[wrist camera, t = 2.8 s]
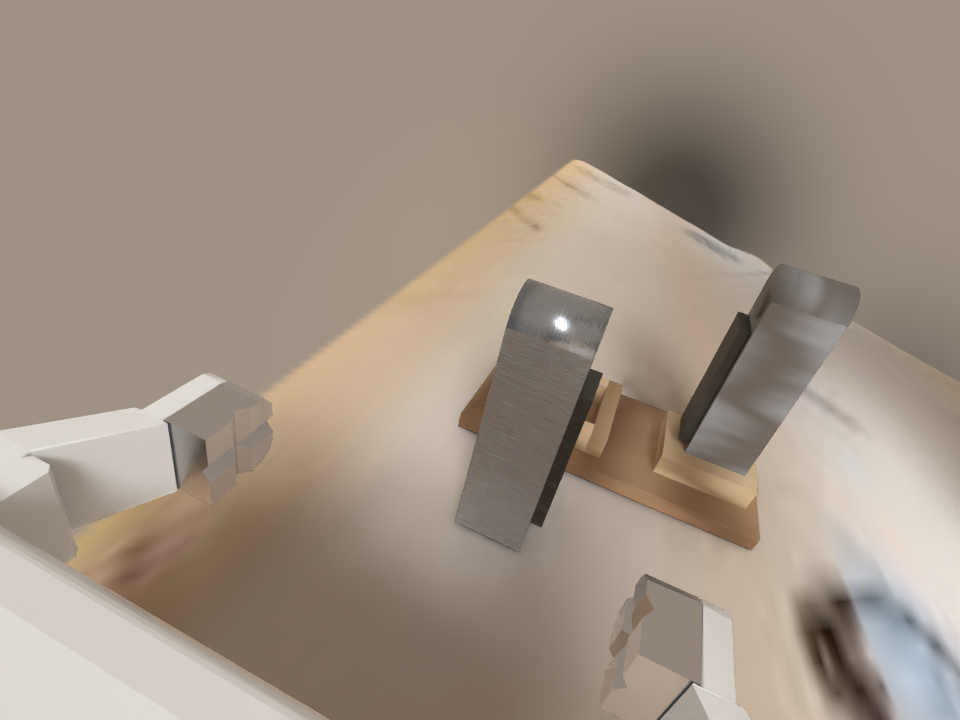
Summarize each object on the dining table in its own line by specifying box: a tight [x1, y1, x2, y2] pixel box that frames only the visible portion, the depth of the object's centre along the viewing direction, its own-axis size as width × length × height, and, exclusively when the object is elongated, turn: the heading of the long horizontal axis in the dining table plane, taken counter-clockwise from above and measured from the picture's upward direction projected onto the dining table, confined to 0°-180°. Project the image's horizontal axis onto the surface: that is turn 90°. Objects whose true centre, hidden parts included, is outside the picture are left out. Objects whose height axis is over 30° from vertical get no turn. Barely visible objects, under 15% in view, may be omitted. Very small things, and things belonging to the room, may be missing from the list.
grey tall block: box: [455, 279, 613, 552], centre depth 24 cm, size 4×3×14 cm
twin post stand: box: [458, 264, 860, 550], centre depth 31 cm, size 18×9×14 cm, turn 68°
